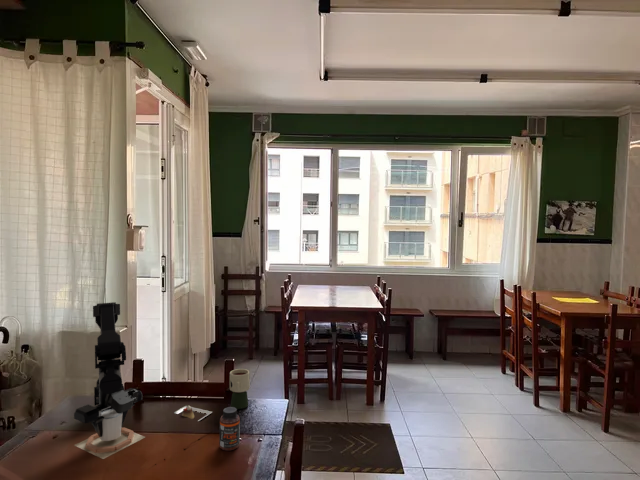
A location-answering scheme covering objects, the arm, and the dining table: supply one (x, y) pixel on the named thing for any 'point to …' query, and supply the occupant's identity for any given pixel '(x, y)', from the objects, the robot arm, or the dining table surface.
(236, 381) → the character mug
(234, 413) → the supplement bottle
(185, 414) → the dessert
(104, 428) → the shot glass
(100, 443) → the serving board
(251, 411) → the dining table surface
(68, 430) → the dining table surface
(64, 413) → the dining table surface
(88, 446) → the coaster ring
